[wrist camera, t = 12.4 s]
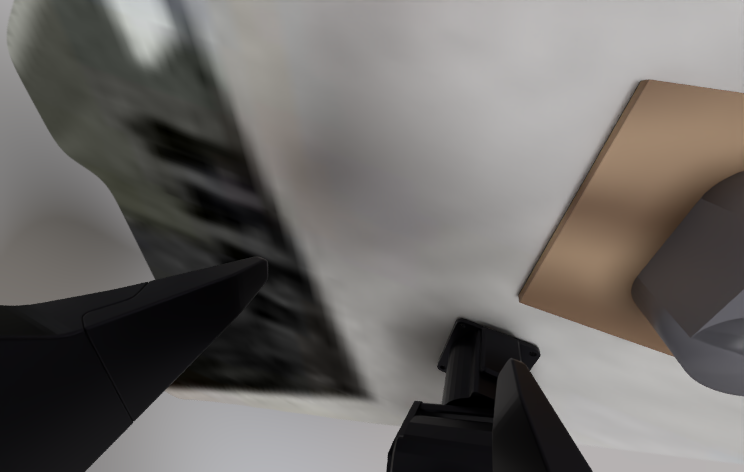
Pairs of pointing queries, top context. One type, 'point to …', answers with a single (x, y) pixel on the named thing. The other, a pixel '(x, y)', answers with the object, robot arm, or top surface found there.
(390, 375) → the top surface
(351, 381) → the top surface
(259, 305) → the top surface
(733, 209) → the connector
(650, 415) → the top surface
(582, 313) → the board
